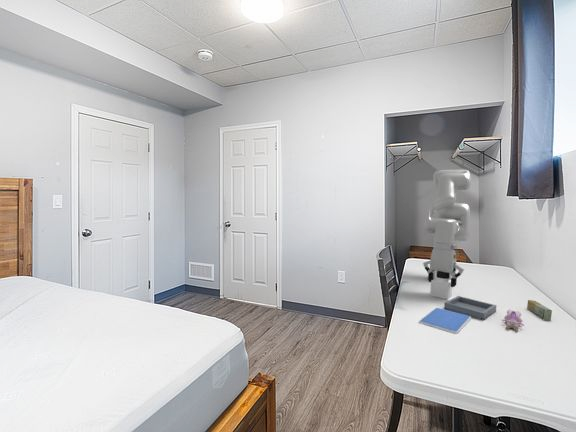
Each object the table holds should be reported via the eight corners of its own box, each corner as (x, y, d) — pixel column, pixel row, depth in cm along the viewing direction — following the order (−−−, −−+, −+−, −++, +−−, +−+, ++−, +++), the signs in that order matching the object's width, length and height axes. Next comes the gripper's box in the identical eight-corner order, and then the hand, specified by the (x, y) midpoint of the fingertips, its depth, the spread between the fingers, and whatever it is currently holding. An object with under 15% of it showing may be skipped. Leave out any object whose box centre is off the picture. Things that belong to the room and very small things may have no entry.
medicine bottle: (451, 295, 137) (453, 270, 136) (447, 299, 132) (448, 272, 131) (435, 292, 142) (436, 267, 141) (430, 295, 136) (431, 269, 136)
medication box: (551, 321, 111) (552, 310, 111) (543, 320, 111) (544, 309, 111) (534, 309, 122) (534, 300, 122) (526, 308, 123) (527, 299, 123)
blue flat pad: (457, 336, 97) (457, 332, 97) (417, 324, 106) (417, 320, 106) (471, 319, 111) (471, 316, 111) (435, 310, 120) (436, 306, 120)
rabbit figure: (523, 337, 99) (524, 317, 111) (524, 321, 98) (525, 302, 109) (500, 332, 103) (503, 313, 114) (501, 316, 102) (504, 298, 113)
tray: (458, 301, 129) (458, 295, 129) (496, 311, 119) (496, 305, 118) (444, 308, 120) (444, 302, 120) (483, 320, 110) (484, 313, 109)
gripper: (468, 248, 131) (465, 287, 132) (428, 243, 144) (426, 279, 145) (461, 250, 126) (458, 290, 127) (420, 244, 139) (419, 281, 140)
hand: (441, 284), depth 136 cm, fingers open, 9 cm apart
